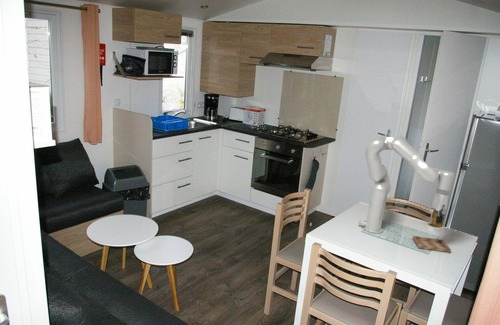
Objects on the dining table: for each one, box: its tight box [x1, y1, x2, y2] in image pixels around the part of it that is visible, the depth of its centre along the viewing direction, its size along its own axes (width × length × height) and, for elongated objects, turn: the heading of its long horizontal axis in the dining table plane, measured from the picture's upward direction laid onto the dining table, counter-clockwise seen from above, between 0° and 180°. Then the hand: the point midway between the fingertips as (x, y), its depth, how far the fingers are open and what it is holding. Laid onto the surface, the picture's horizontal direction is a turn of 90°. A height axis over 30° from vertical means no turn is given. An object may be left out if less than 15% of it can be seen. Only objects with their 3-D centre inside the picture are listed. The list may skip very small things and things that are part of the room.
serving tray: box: [411, 235, 451, 254], centre depth 238 cm, size 18×13×2 cm
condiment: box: [426, 210, 446, 230], centre depth 233 cm, size 7×8×12 cm
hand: (436, 219), depth 234 cm, fingers closed on condiment, 6 cm apart
